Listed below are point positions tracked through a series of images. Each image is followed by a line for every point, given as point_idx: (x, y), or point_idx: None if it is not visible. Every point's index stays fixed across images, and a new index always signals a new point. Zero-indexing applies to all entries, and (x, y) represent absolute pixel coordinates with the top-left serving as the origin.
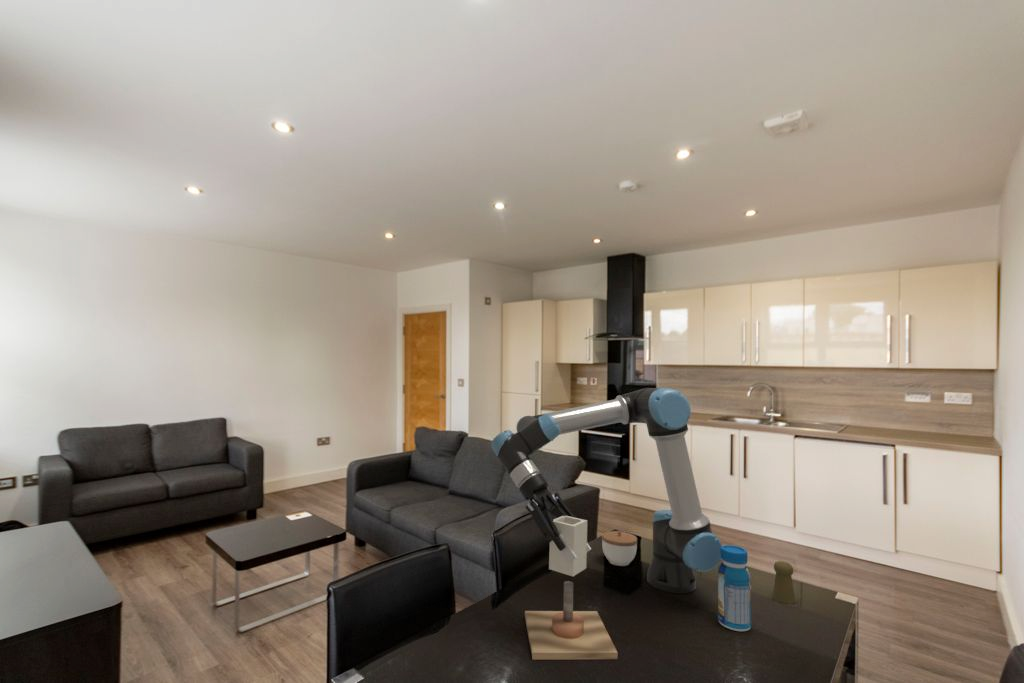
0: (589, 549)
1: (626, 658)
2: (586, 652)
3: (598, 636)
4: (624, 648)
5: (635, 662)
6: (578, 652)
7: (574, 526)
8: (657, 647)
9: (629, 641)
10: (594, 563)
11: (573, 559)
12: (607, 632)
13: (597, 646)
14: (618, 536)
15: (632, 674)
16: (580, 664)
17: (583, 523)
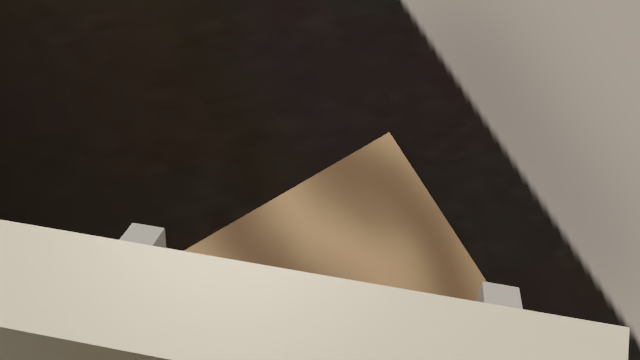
0: (161, 237)
1: (362, 113)
2: (459, 241)
3: (308, 234)
4: (297, 137)
5: (371, 80)
6: (479, 271)
7: (610, 327)
8: (228, 34)
9: (235, 132)
10: None
11: None
12: (256, 209)
13: (389, 215)
14: None
15: (451, 72)
16: (501, 255)
17: (127, 241)
